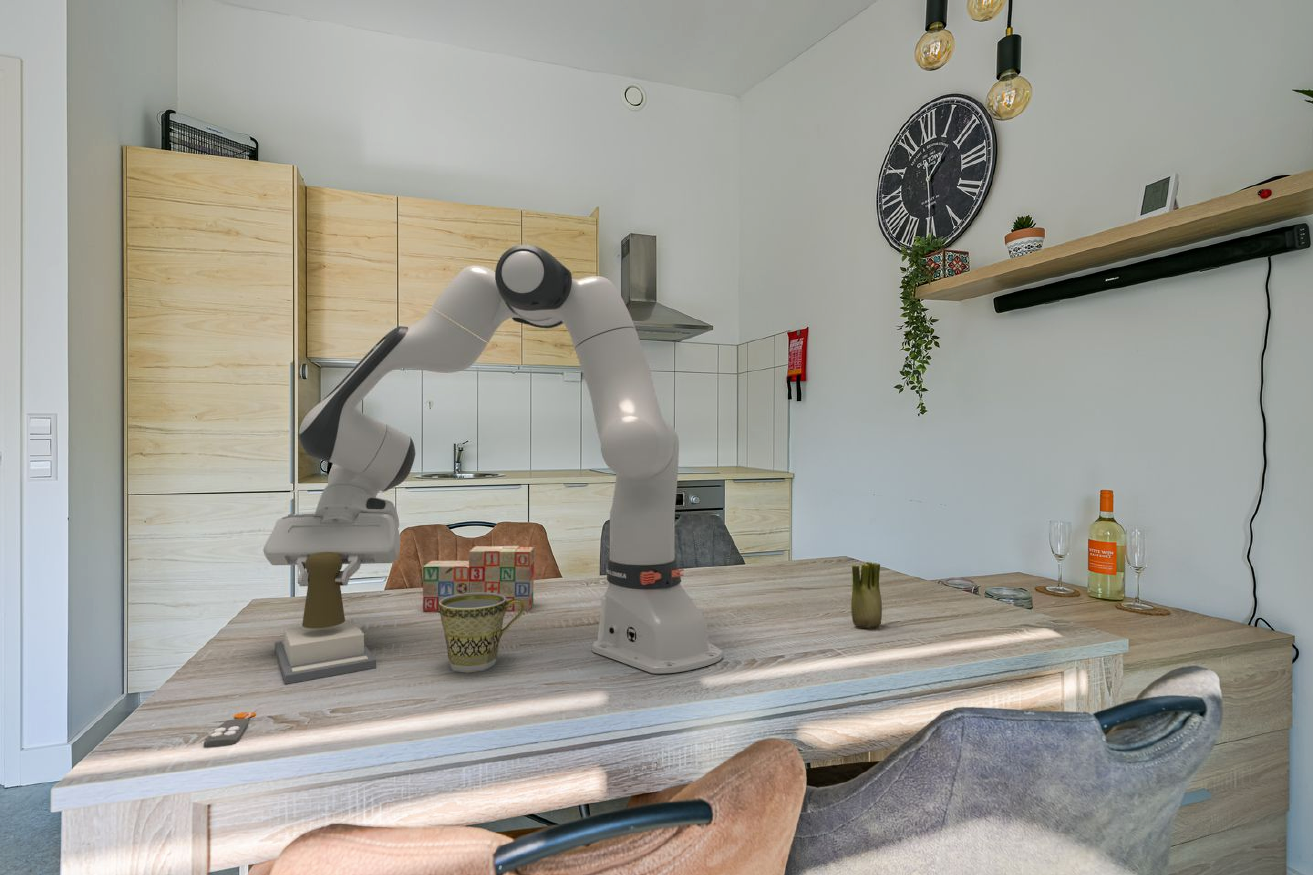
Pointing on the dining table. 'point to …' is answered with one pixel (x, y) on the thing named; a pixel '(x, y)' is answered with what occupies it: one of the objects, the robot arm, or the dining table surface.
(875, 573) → the fennel bulb
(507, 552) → the stack of blocks
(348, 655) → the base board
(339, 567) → the cork
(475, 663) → the ceramic cup
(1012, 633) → the dining table surface
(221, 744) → the key chain
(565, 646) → the dining table surface
